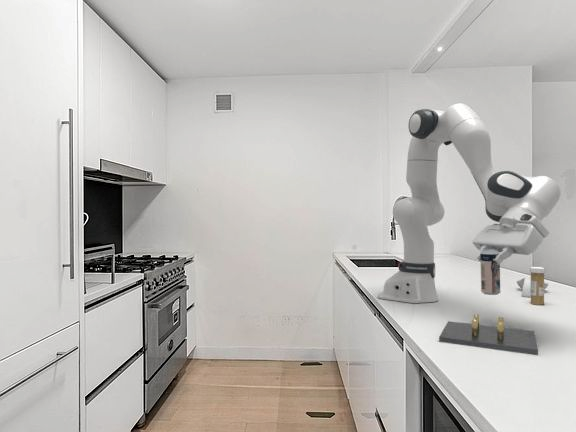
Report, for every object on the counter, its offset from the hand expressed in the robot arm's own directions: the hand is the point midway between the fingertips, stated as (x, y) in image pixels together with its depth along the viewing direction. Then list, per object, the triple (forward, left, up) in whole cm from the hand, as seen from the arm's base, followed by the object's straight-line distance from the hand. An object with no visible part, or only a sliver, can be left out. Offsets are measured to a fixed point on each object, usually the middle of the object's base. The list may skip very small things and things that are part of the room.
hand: (487, 260), depth 116 cm
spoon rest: (+13, +76, -21) cm, 80 cm away
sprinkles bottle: (+14, +52, -20) cm, 58 cm away
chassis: (0, -4, -20) cm, 20 cm away
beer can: (+1, +1, -9) cm, 9 cm away
